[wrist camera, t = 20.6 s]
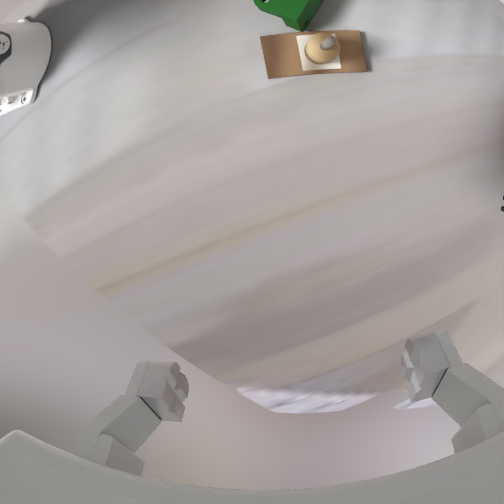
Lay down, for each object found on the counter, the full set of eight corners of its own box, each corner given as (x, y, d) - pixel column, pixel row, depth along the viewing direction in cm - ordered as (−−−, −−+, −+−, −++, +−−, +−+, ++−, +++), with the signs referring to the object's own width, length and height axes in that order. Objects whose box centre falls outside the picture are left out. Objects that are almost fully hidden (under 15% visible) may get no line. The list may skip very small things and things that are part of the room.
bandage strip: (268, 79, 32) (268, 78, 31) (260, 38, 29) (259, 36, 28) (364, 72, 31) (367, 71, 29) (357, 32, 28) (359, 30, 26)
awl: (306, 64, 30) (314, 57, 22) (302, 39, 28) (309, 25, 21) (334, 64, 29) (350, 58, 22) (330, 39, 28) (346, 25, 20)
